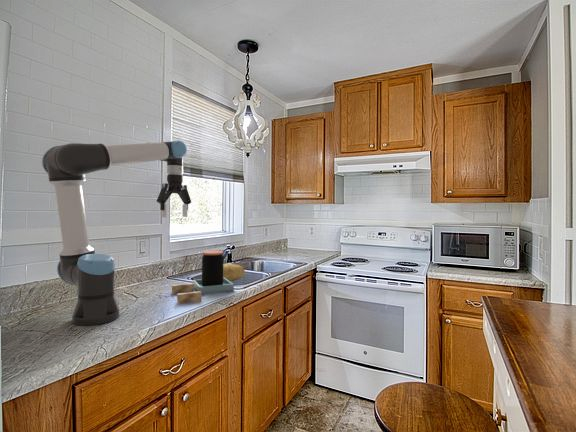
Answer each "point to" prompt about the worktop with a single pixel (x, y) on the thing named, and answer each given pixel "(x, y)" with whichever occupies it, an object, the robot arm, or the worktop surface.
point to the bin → (213, 287)
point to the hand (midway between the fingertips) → (174, 217)
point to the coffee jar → (212, 268)
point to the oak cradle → (186, 293)
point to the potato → (232, 272)
